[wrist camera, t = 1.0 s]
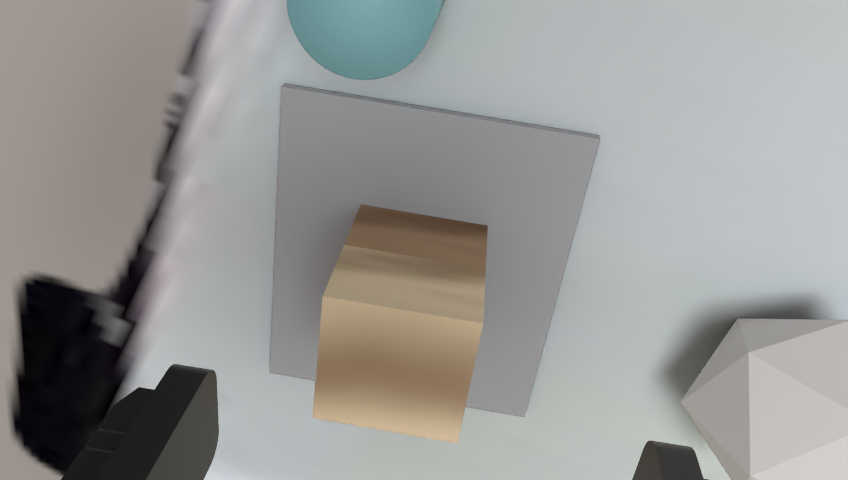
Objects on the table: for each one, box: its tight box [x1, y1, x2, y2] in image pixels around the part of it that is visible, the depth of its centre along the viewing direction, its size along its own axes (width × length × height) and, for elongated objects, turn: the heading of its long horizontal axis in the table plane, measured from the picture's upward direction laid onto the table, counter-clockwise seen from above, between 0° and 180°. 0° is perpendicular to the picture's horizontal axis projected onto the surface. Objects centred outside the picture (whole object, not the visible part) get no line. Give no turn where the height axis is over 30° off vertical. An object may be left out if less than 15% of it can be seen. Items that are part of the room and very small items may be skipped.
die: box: [680, 318, 848, 480], centre depth 32 cm, size 8×9×10 cm
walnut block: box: [344, 204, 488, 269], centre depth 33 cm, size 6×6×4 cm
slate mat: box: [270, 84, 600, 417], centre depth 35 cm, size 16×14×1 cm
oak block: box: [313, 245, 486, 443], centre depth 29 cm, size 6×6×4 cm
